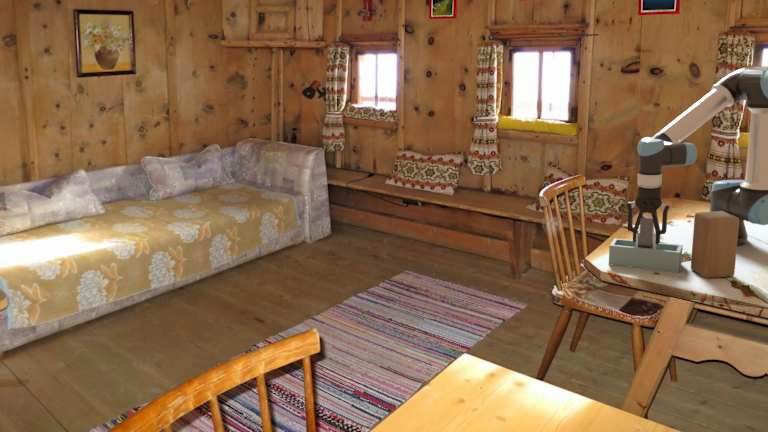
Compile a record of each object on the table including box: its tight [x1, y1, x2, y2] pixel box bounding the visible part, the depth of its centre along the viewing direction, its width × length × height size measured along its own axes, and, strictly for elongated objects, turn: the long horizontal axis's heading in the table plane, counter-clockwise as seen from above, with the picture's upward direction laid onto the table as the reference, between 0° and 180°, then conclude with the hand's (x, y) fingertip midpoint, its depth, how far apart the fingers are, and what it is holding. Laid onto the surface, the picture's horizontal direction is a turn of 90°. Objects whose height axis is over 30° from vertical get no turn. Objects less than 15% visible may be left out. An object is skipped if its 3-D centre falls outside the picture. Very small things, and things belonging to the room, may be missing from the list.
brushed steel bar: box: [639, 214, 655, 249], centre depth 226 cm, size 4×4×16 cm
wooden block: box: [690, 211, 739, 279], centre depth 215 cm, size 10×10×20 cm
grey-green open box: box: [608, 238, 684, 273], centre depth 228 cm, size 22×9×7 cm, turn 61°
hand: (645, 251), depth 227 cm, fingers open, 5 cm apart
